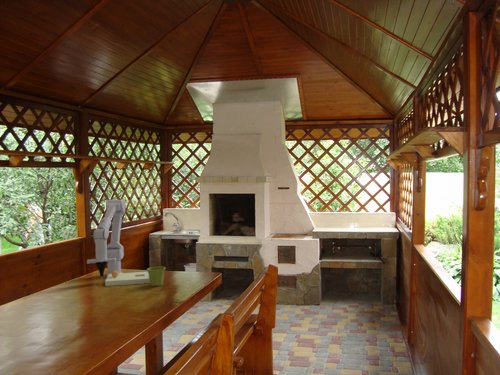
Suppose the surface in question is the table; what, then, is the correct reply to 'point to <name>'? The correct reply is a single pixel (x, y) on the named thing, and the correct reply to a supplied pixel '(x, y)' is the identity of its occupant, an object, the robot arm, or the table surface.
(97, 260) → the robot arm
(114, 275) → the ball
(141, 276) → the deck
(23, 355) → the table surface
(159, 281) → the plant pot
